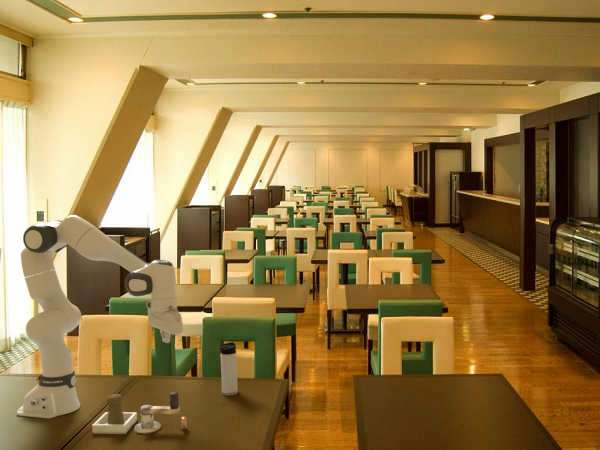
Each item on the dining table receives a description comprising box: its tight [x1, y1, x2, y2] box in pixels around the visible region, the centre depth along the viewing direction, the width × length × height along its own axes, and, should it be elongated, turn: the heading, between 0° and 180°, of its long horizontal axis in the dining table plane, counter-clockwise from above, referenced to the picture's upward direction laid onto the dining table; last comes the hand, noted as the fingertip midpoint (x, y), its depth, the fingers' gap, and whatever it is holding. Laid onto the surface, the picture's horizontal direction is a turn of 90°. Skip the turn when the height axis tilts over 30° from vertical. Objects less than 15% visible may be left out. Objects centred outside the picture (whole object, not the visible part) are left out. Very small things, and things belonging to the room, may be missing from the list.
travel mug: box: [219, 341, 239, 397], centre depth 254 cm, size 6×7×20 cm
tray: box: [91, 411, 138, 435], centre depth 224 cm, size 12×12×3 cm
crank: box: [140, 391, 181, 415], centre depth 221 cm, size 14×4×7 cm, turn 84°
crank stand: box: [133, 413, 188, 435], centre depth 221 cm, size 18×9×5 cm, turn 84°
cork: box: [106, 393, 125, 425], centre depth 223 cm, size 6×6×11 cm
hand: (166, 342), depth 232 cm, fingers closed
